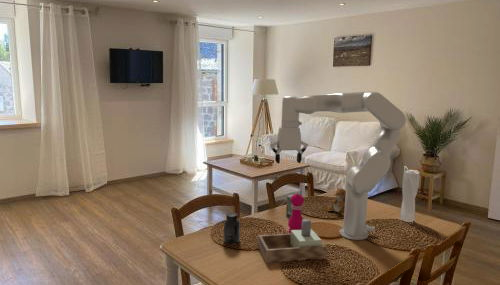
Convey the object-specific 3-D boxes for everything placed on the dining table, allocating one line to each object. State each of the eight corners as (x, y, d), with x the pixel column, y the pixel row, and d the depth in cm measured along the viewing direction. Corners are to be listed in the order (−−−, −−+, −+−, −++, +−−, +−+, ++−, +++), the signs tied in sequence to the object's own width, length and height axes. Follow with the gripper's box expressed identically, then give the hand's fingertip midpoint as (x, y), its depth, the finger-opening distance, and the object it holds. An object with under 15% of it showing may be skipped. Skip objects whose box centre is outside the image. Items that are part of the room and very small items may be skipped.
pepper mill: (303, 237, 165) (305, 194, 162) (286, 235, 167) (288, 192, 164) (304, 231, 172) (306, 189, 169) (288, 229, 174) (290, 188, 170)
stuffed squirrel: (325, 211, 199) (327, 188, 197) (339, 206, 209) (341, 183, 207) (342, 216, 192) (343, 192, 190) (355, 210, 202) (357, 187, 200)
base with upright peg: (310, 242, 158) (312, 215, 156) (320, 254, 147) (322, 225, 145) (290, 243, 156) (291, 216, 154) (298, 255, 145) (300, 226, 143)
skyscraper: (395, 220, 189) (400, 166, 184) (402, 217, 194) (407, 164, 189) (410, 225, 183) (416, 169, 179) (417, 221, 188) (423, 167, 184)
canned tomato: (286, 213, 195) (287, 192, 194) (301, 214, 194) (302, 193, 193) (285, 218, 188) (286, 197, 186) (301, 219, 187) (302, 198, 185)
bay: (312, 243, 160) (313, 232, 159) (325, 258, 146) (326, 246, 145) (258, 246, 155) (258, 235, 154) (266, 262, 141) (266, 250, 141)
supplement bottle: (242, 241, 160) (243, 214, 158) (231, 246, 155) (232, 218, 153) (231, 236, 164) (232, 210, 162) (220, 241, 160) (220, 214, 158)
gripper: (305, 123, 169) (303, 160, 172) (268, 123, 165) (267, 161, 168) (311, 125, 162) (309, 164, 164) (273, 125, 158) (271, 165, 161)
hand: (288, 162), depth 166 cm, fingers open, 9 cm apart
